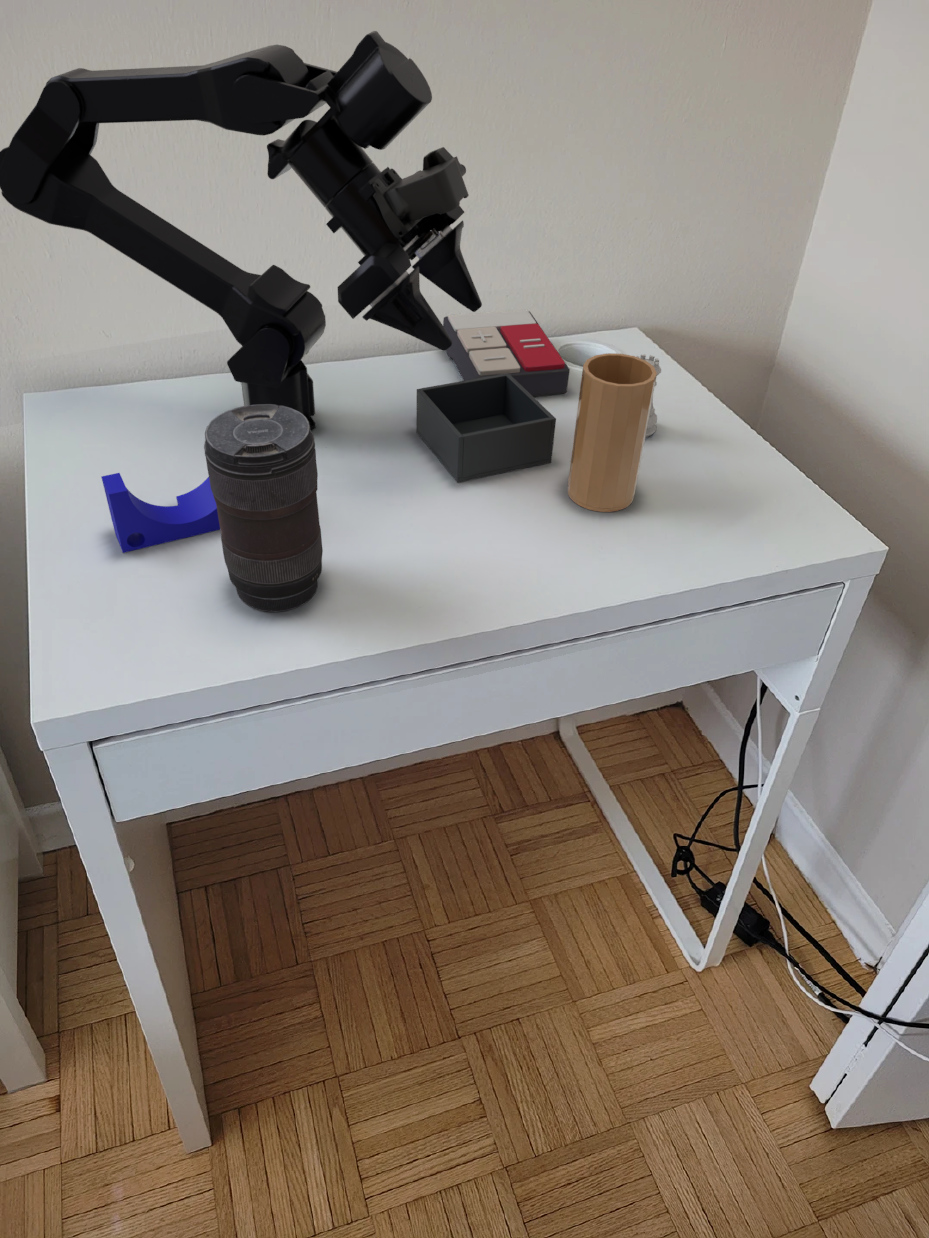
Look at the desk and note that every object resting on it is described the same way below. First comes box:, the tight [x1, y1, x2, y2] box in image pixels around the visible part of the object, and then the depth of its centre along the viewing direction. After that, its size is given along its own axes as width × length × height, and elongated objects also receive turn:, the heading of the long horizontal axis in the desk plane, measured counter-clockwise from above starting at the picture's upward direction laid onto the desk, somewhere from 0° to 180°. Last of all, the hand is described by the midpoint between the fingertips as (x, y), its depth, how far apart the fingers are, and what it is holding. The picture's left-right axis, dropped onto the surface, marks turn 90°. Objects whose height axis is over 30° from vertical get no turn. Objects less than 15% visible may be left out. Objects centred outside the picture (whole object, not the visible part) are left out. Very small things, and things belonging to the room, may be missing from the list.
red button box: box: [442, 309, 570, 397], centre depth 111 cm, size 11×4×15 cm
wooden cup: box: [567, 352, 658, 513], centre depth 88 cm, size 6×6×13 cm
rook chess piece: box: [635, 354, 662, 439], centre depth 99 cm, size 4×4×8 cm
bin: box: [415, 373, 557, 483], centre depth 96 cm, size 10×10×5 cm
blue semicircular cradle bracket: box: [101, 472, 220, 554], centre depth 84 cm, size 12×4×6 cm, turn 118°
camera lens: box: [203, 404, 324, 613], centre depth 74 cm, size 8×8×15 cm
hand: (464, 327), depth 88 cm, fingers open, 9 cm apart
